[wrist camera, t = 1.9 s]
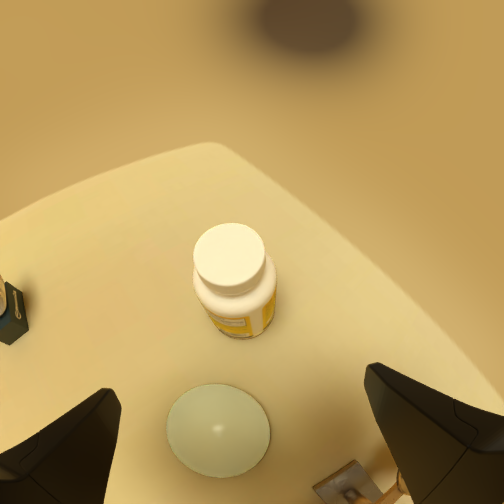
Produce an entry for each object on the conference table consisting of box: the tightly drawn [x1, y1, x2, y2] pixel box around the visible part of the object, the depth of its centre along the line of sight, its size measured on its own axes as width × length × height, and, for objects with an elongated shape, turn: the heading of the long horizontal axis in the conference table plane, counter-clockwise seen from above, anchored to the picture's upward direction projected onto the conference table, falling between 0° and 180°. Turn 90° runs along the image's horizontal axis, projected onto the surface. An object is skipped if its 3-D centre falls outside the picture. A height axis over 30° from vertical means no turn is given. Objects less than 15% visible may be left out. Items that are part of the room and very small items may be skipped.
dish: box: [166, 384, 270, 478], centre depth 18 cm, size 8×8×1 cm
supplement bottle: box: [193, 223, 277, 339], centre depth 19 cm, size 5×5×10 cm
